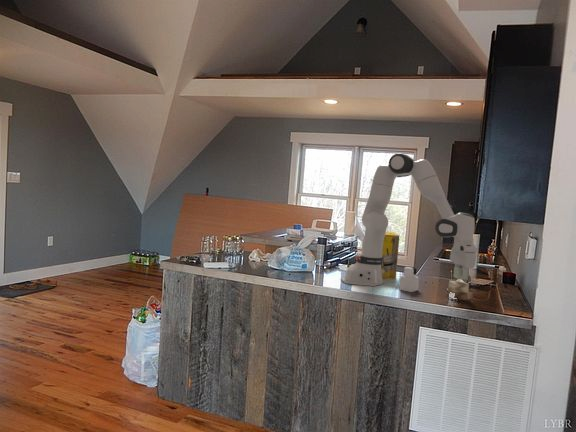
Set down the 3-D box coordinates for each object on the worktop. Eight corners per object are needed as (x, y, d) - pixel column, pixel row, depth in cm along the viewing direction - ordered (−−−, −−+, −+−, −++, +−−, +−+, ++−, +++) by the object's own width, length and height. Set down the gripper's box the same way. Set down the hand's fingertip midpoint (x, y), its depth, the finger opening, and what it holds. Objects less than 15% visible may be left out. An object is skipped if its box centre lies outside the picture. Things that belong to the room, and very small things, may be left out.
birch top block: (454, 291, 228) (454, 283, 227) (448, 288, 235) (449, 280, 234) (468, 292, 228) (469, 284, 228) (462, 289, 235) (463, 281, 235)
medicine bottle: (405, 287, 247) (407, 265, 246) (418, 290, 243) (420, 267, 242) (399, 289, 242) (401, 266, 241) (412, 292, 237) (414, 269, 236)
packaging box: (395, 279, 268) (399, 235, 266) (367, 277, 269) (370, 233, 267) (390, 273, 285) (393, 232, 283) (363, 271, 285) (366, 230, 283)
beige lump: (452, 299, 228) (453, 291, 228) (447, 296, 235) (448, 288, 235) (467, 300, 229) (467, 292, 228) (460, 296, 236) (461, 289, 235)
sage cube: (457, 279, 229) (458, 268, 228) (453, 276, 234) (454, 266, 233) (467, 279, 229) (468, 269, 229) (463, 277, 234) (464, 267, 234)
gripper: (448, 242, 240) (445, 269, 241) (466, 248, 220) (463, 278, 221) (460, 243, 241) (457, 270, 242) (479, 249, 220) (476, 278, 221)
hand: (460, 274), depth 231 cm, fingers closed on sage cube, 5 cm apart
